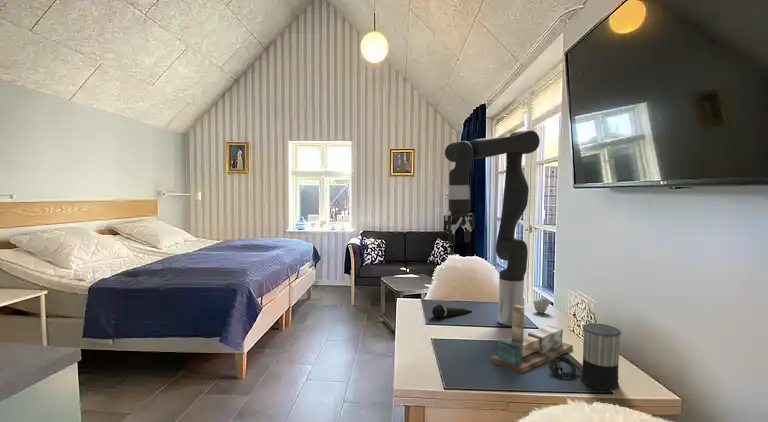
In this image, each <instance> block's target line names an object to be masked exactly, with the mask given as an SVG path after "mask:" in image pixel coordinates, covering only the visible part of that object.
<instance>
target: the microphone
mask: <svg viewBox="0 0 768 422" xmlns="http://www.w3.org/2000/svg"><path fill="white" fill-rule="evenodd" d="M431 311H432V313H431V314H432V315H433V317H435V318H436V319H439V320H440V319H443V318H444V317H453V316H460V315H466V314H469V313H473V310H471V309H466V308H458V307H444V306H443V305H442V304H436V305H434V306H433V308H432V310H431Z"/></svg>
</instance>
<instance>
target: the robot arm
mask: <svg viewBox="0 0 768 422" xmlns="http://www.w3.org/2000/svg"><path fill="white" fill-rule="evenodd" d="M540 141H541V140H540V135H538V133H537V132H536V131H535V130H532V129H522V130H516V131H512V132H511V133H510V134H509V135H508V136H495V137H494V136H493V137H485V138H477V139H473V140H470V141H466V140H460V141H456V142H452V143H451V142H450V143H449V144H448V145H447V146H446V147H445V150H444V156H445V158H446V159H447V160H448V161H449V162H452V163H455V165H454V167H453V168H452V169H450V171H449V174H448V212H450V215H447V214H445V215H443V232H444V233H446V234H447V242H448V245H456V243H455V240H456V239H455V237H456V236H455V232H456V231H457V229H458V228H460V227H462V229H463V230H464V232H463V237H464V238H463V241H464V243H470V242H471V239H472V238H471V232H472V231H473V230H474V231H475V229H476V224H475V213H472V212H471V213H469V212H470V210H471V201H470V200H471V191H470V170H471V168H472V165H473V160H475V159H484V158H485V159H486V158H491V157H495V156H500V155H504V154H505V157H506V159H505V161H506V162H505V177H504V189H503V196H502V197H503V198H502V209H501V217H500V223H499V229H498V232H497V233H498V234H497V237H496V238H497V239H496V243H495V252H496V256H497V257H498V259H499V260H502V261H506V262H507V266H506V267H505V269H502V270H501V269H500V271H499V275H498V276H499V277H498V279H499V280H498V323H500V324H502V325H504V326H511V327H512V312H513V306H514V305H519V306H523V307H524V308H525V298H524V296H525V295H524V291H525V288H524V287H525V275H526V273H527V269H528V268H527V265H528V253H529V251H528V245H527V243H526V242H525V240H524V239H521V238H515V233H516V232H515V231H516V228H517V227H516V226H517V224H518V222H519V220H520V219H521V217H522V215H523V214H524V212H525V211H526V208H527V207H528V202H529V194H530V193H529V192H530V189H529V184H528V182H527V179H526V176H525V174H524V172H523V166H522V162H523V155H527V154H532V153H534V152H535V151H537V150H538V148H539V146H540Z"/></svg>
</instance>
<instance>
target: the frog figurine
mask: <svg viewBox="0 0 768 422" xmlns="http://www.w3.org/2000/svg"><path fill="white" fill-rule="evenodd" d="M532 303H533V304H534V309H535V312H537V313H540V314H543V313H546V312H547V308H548V307H549V306H550V304H551V300H550V299H549V298H548V297H546V296H540V297H539V298H536V299H534V300H533V301H532Z"/></svg>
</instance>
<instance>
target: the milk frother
mask: <svg viewBox="0 0 768 422" xmlns="http://www.w3.org/2000/svg"><path fill="white" fill-rule="evenodd" d="M582 328H583V343H582V346H583V347H582V350H583V351H582V368H581V369H580V368H579V366H578V365H576V363H574V362H573V361H572V360H570V359H569V358H567V357H565V356H558V357H555V358H553V359H552V360H549V363H548V367H549V370H550V372H551V373H552V374H554V375H555V376H558V377H561V378H573V377H574V376H575V375H576V373H577V370H578V371H579V372H580V373H581V375H580V380H581V382H582V383H584V384H585V385H587V386H589V387H592V388H595V389H599V390H604V391H605V390H606V391H611V390H612V391H613V390H617V389H618V388H619V387H620V383H619V361H620V343H621V342H620V341H621V334H622V331H621V329H619V328H617V327H615V326H612V325H609V324H604V323H595V322H593V323H585V324H583V325H582ZM561 362H562V363H565V364H567V365H568V366H569V367H570V368H571V370H570V371H568V372H563V369H564V368H563V366H561V364H560V363H561Z"/></svg>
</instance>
